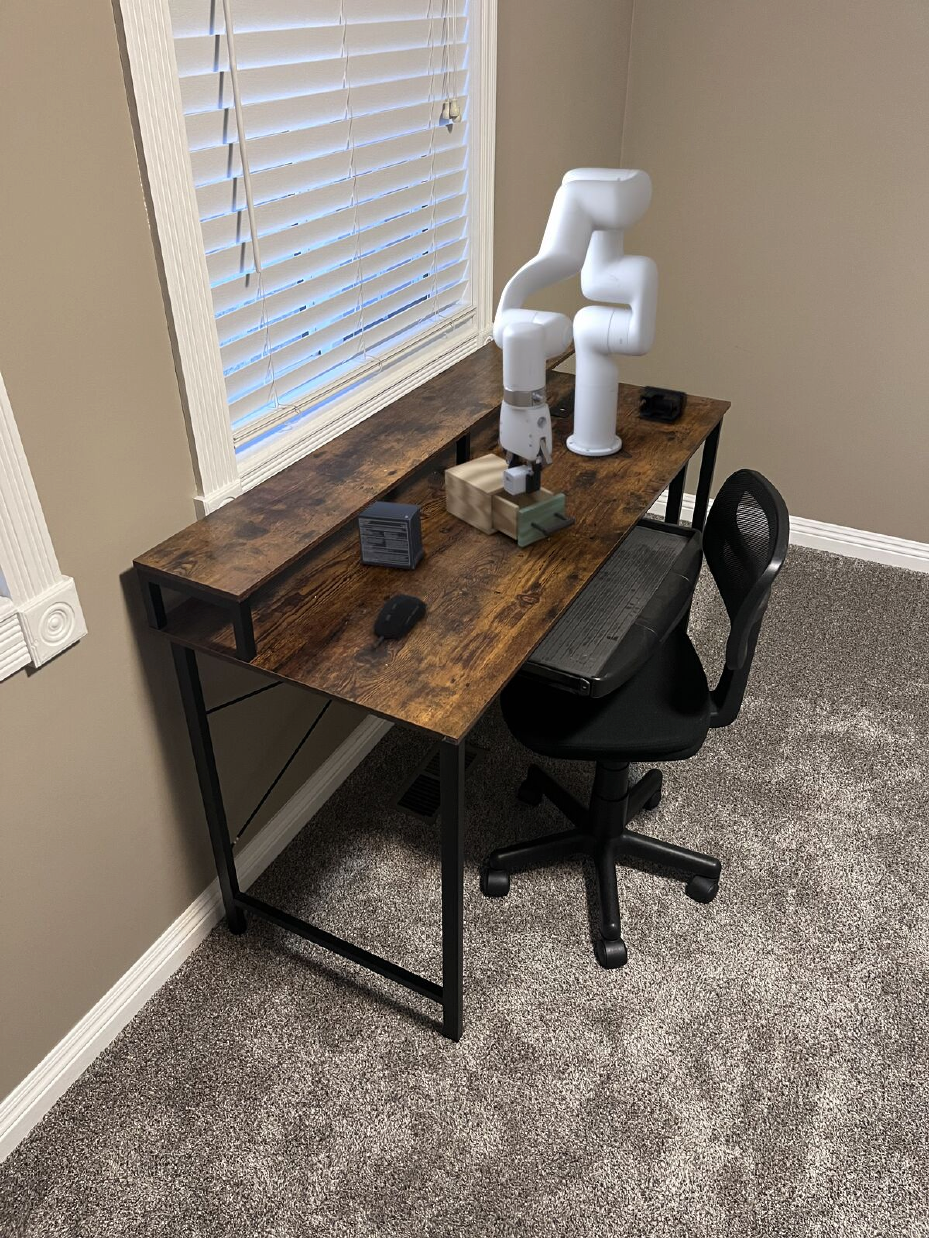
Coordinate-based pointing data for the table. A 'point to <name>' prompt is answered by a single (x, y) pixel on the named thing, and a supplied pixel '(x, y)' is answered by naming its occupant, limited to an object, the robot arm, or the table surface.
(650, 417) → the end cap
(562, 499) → the drawer
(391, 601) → the gaming mouse
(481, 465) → the cabinet
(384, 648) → the table surface
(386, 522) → the small box
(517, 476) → the usb wall charger
